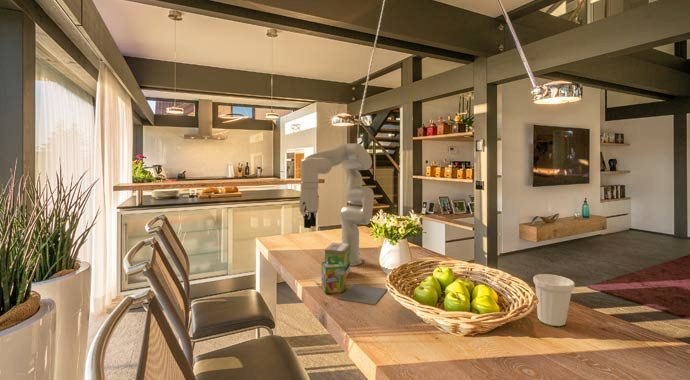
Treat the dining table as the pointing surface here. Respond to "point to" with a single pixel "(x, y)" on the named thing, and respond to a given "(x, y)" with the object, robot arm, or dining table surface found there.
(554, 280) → the cup
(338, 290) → the chalk box
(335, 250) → the tea box
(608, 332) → the dining table surface
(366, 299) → the mat
